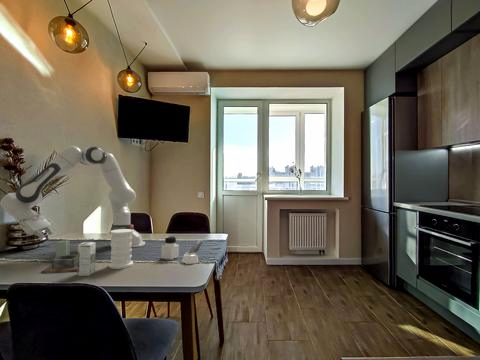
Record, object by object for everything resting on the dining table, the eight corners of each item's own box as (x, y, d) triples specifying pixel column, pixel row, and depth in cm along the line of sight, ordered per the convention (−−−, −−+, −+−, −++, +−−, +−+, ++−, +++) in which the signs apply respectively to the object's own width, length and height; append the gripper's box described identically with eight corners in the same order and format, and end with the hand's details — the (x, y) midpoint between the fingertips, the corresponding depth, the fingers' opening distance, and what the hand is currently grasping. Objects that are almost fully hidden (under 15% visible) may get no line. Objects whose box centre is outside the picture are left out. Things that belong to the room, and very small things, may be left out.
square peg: (69, 258, 163) (69, 240, 163) (65, 260, 158) (66, 242, 158) (59, 258, 162) (59, 240, 162) (55, 260, 157) (56, 242, 158)
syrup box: (82, 272, 138) (82, 241, 139) (95, 272, 139) (95, 241, 139) (76, 276, 133) (77, 244, 133) (90, 276, 133) (90, 244, 133)
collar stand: (89, 262, 156) (89, 252, 156) (78, 271, 140) (78, 260, 140) (56, 263, 153) (56, 253, 153) (41, 272, 137) (41, 262, 137)
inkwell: (178, 263, 156) (178, 244, 156) (195, 255, 173) (195, 238, 173) (193, 265, 153) (193, 245, 153) (209, 256, 169) (209, 239, 169)
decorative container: (109, 270, 142) (110, 233, 142) (108, 264, 153) (108, 229, 153) (134, 267, 148) (135, 231, 148) (131, 261, 158) (132, 228, 158)
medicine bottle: (179, 257, 168) (179, 236, 168) (171, 260, 162) (171, 238, 162) (169, 255, 171) (169, 235, 171) (161, 258, 165) (161, 237, 165)
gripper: (22, 216, 148) (43, 235, 149) (41, 212, 168) (60, 228, 169) (12, 225, 147) (33, 244, 149) (33, 220, 167) (51, 236, 169)
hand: (47, 235), depth 159 cm, fingers open, 8 cm apart
